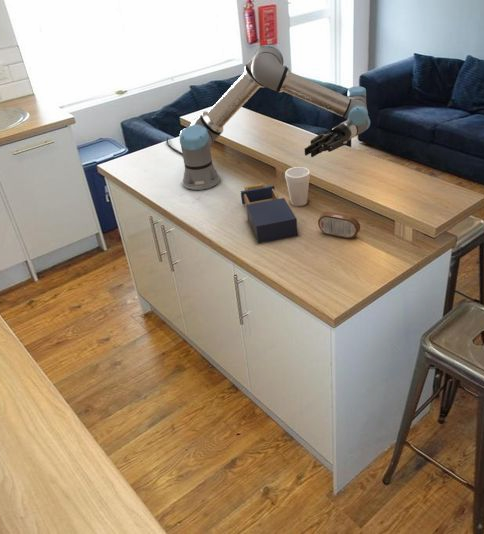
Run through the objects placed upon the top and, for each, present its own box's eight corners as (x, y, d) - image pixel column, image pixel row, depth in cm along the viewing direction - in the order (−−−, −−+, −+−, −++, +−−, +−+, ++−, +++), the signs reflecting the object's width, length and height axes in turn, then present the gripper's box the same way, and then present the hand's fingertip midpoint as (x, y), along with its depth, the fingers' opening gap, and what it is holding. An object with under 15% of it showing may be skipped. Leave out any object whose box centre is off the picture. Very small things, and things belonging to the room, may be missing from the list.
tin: (360, 236, 198) (360, 216, 193) (357, 241, 196) (357, 220, 191) (320, 229, 204) (320, 209, 199) (317, 234, 202) (316, 213, 197)
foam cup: (308, 208, 217) (307, 178, 210) (285, 207, 219) (283, 177, 212) (312, 197, 225) (311, 167, 217) (289, 196, 227) (287, 166, 219)
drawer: (238, 196, 227) (237, 184, 224) (270, 190, 230) (269, 178, 226) (250, 221, 210) (249, 209, 207) (285, 215, 212) (284, 202, 209)
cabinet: (248, 221, 212) (246, 204, 208) (285, 214, 215) (284, 197, 211) (258, 243, 199) (256, 226, 195) (297, 235, 201) (296, 218, 197)
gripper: (359, 145, 228) (324, 166, 214) (328, 137, 237) (293, 157, 222) (359, 127, 224) (324, 147, 210) (328, 120, 233) (292, 139, 218)
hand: (308, 152), depth 216 cm, fingers open, 2 cm apart
